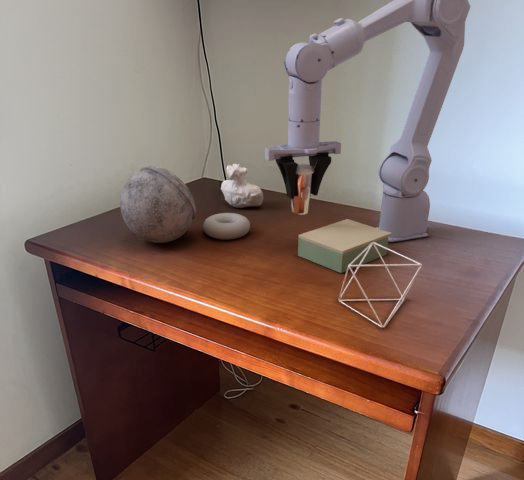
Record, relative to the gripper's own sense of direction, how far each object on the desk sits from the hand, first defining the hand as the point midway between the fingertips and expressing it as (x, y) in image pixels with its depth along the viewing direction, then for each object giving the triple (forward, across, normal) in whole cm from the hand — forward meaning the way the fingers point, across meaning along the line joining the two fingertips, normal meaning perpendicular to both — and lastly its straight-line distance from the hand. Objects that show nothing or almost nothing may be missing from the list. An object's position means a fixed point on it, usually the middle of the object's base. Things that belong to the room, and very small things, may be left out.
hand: (302, 195), depth 105 cm
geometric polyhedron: (+10, 0, -29) cm, 31 cm away
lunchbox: (+10, +6, -7) cm, 14 cm away
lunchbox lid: (+7, +6, -7) cm, 11 cm away
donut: (+10, -12, +13) cm, 20 cm away
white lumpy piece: (+10, -3, +30) cm, 32 cm away
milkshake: (+4, 0, 0) cm, 4 cm away
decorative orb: (+10, -26, +14) cm, 31 cm away
